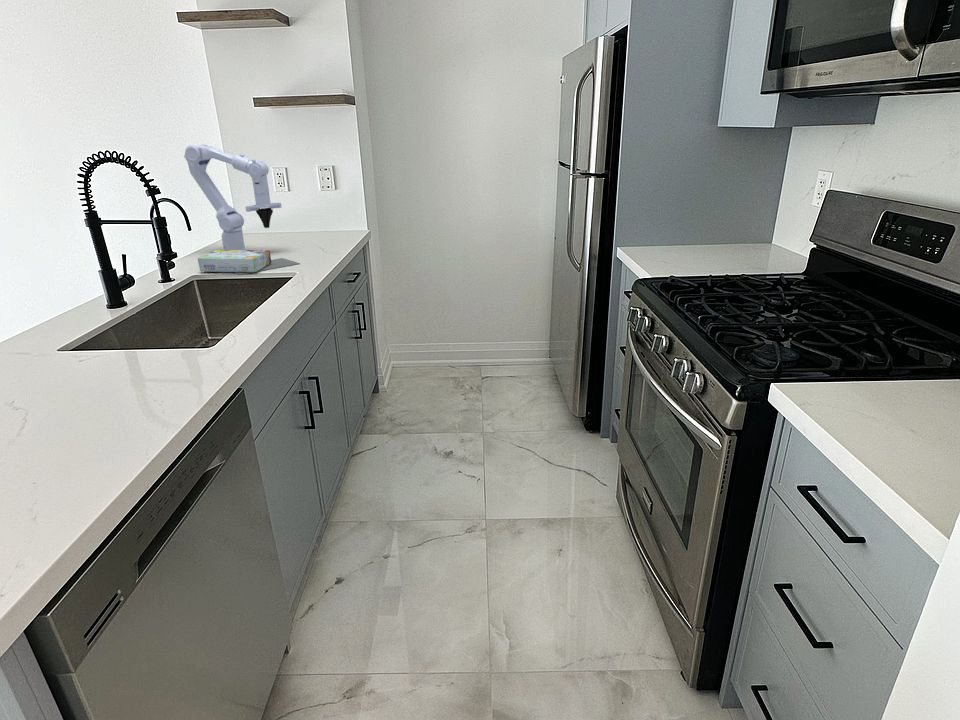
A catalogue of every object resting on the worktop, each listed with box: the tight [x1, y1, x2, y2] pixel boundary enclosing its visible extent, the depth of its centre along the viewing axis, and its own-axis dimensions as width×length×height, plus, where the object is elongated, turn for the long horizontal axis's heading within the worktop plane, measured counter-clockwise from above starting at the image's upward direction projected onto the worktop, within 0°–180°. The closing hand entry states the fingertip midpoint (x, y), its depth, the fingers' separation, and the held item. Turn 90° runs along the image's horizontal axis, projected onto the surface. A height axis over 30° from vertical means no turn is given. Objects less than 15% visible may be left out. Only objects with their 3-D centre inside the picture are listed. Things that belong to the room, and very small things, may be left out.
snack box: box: [197, 249, 272, 273], centre depth 231 cm, size 21×6×15 cm
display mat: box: [233, 257, 301, 276], centre depth 235 cm, size 14×24×1 cm, turn 134°
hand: (266, 227), depth 255 cm, fingers closed
